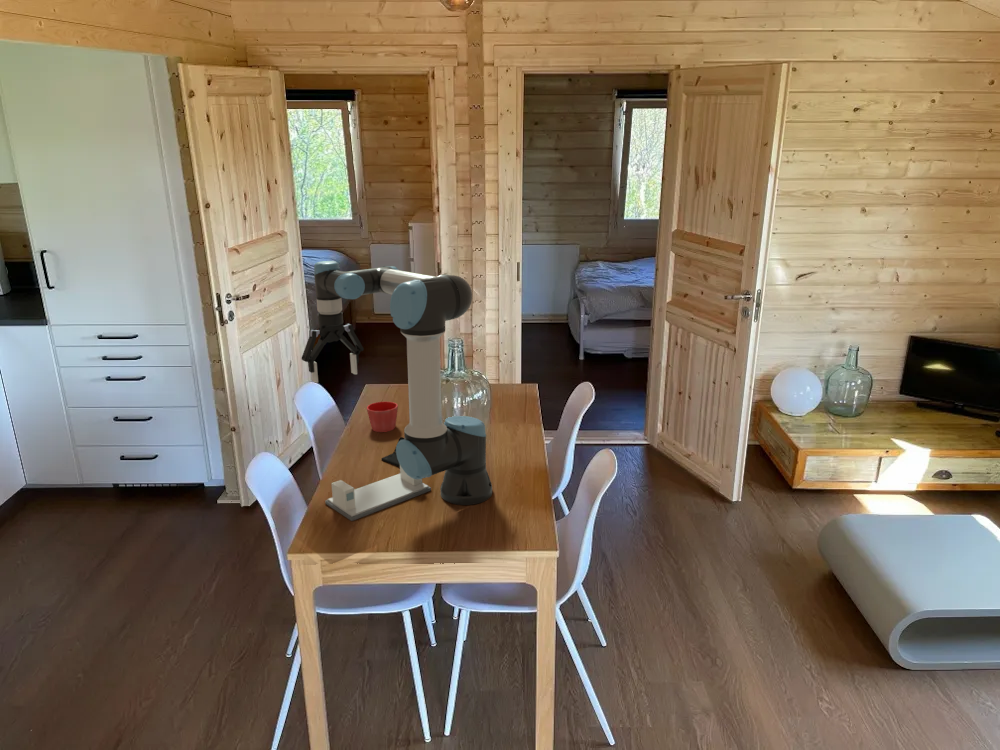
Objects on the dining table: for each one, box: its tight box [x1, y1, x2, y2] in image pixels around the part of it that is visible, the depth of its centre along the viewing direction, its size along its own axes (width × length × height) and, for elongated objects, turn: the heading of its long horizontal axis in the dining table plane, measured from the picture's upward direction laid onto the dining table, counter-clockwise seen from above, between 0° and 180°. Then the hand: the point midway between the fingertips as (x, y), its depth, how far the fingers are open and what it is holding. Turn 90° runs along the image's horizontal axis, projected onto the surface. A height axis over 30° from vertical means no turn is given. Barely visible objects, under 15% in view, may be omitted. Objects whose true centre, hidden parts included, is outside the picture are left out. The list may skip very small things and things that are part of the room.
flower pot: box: [366, 401, 399, 433], centre depth 257 cm, size 11×11×10 cm
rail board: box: [324, 466, 432, 522], centre depth 208 cm, size 14×27×8 cm, turn 133°
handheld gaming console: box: [381, 436, 405, 468], centre depth 233 cm, size 11×10×4 cm
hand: (335, 377), depth 229 cm, fingers open, 13 cm apart
